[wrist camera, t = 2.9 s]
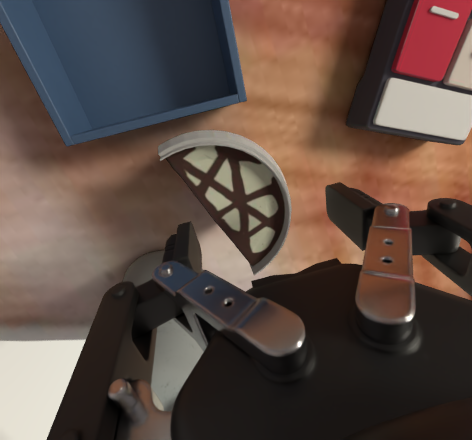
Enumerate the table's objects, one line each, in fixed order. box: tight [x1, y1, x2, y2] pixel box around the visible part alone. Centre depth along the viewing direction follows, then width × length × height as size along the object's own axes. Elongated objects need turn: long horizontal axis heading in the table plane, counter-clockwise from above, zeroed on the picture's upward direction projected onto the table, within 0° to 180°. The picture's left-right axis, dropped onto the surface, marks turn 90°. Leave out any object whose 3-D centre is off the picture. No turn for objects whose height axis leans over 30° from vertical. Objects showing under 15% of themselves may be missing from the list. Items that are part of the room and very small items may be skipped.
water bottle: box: [122, 250, 203, 411], centre depth 19 cm, size 10×10×28 cm
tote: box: [0, 0, 247, 146], centre depth 17 cm, size 14×15×5 cm
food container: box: [158, 130, 291, 275], centre depth 22 cm, size 12×6×10 cm, turn 33°
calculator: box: [346, 0, 472, 145], centre depth 22 cm, size 11×4×15 cm
